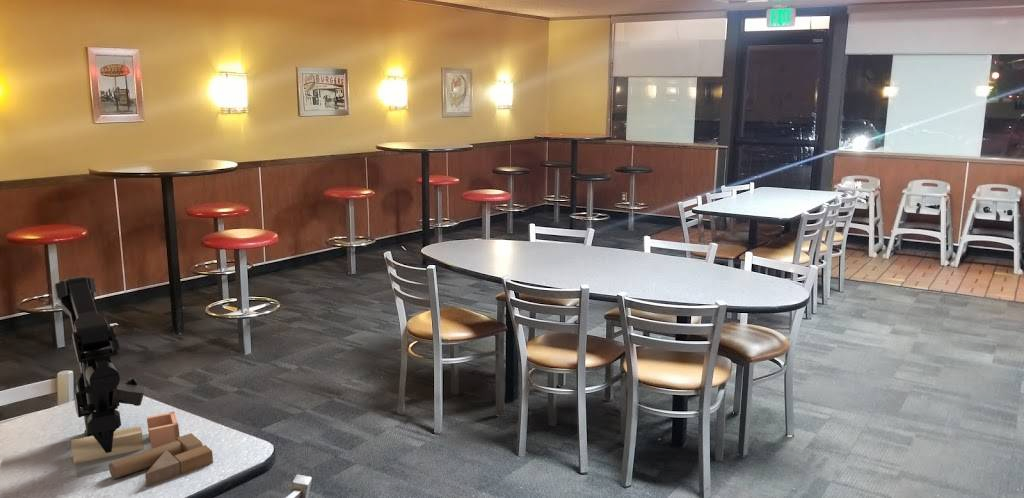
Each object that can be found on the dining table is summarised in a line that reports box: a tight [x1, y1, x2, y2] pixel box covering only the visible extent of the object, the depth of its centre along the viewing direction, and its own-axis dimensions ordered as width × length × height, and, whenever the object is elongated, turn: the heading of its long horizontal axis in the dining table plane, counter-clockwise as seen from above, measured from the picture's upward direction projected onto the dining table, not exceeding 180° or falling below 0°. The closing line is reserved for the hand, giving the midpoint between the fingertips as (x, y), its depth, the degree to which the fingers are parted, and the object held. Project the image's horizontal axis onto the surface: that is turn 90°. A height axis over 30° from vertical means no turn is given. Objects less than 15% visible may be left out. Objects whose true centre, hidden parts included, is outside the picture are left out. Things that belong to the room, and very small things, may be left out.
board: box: [76, 433, 152, 478], centre depth 175 cm, size 15×21×1 cm
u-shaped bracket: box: [146, 411, 181, 449], centre depth 180 cm, size 8×6×5 cm
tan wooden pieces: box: [108, 432, 214, 488], centre depth 166 cm, size 4×11×18 cm
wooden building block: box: [70, 425, 144, 465], centre depth 174 cm, size 4×14×4 cm, turn 119°
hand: (108, 443), depth 174 cm, fingers open, 9 cm apart
